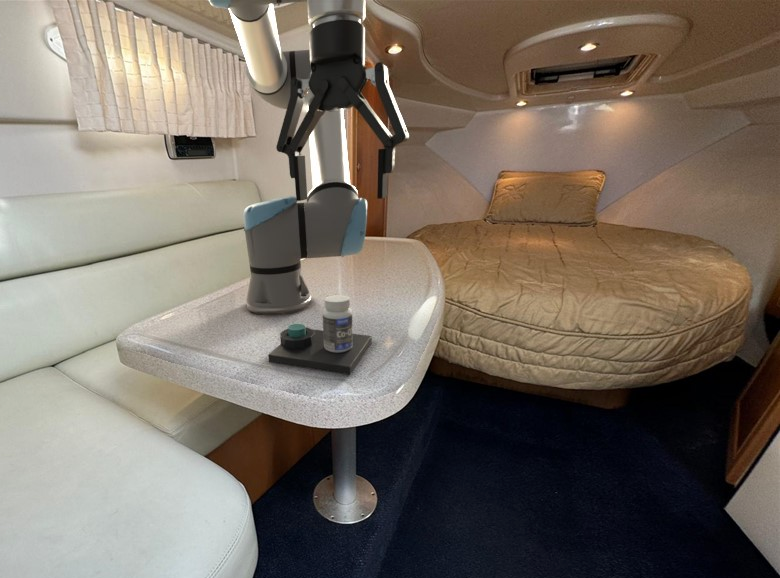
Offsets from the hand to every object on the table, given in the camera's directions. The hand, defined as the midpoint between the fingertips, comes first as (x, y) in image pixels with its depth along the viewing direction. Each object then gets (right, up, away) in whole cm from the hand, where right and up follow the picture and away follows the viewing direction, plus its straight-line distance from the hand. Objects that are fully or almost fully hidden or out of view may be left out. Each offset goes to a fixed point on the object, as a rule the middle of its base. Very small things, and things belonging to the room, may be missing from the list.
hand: (340, 199), depth 58 cm
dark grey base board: (-3, -24, +4) cm, 25 cm away
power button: (-7, -22, +4) cm, 23 cm away
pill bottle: (0, -24, +2) cm, 24 cm away
